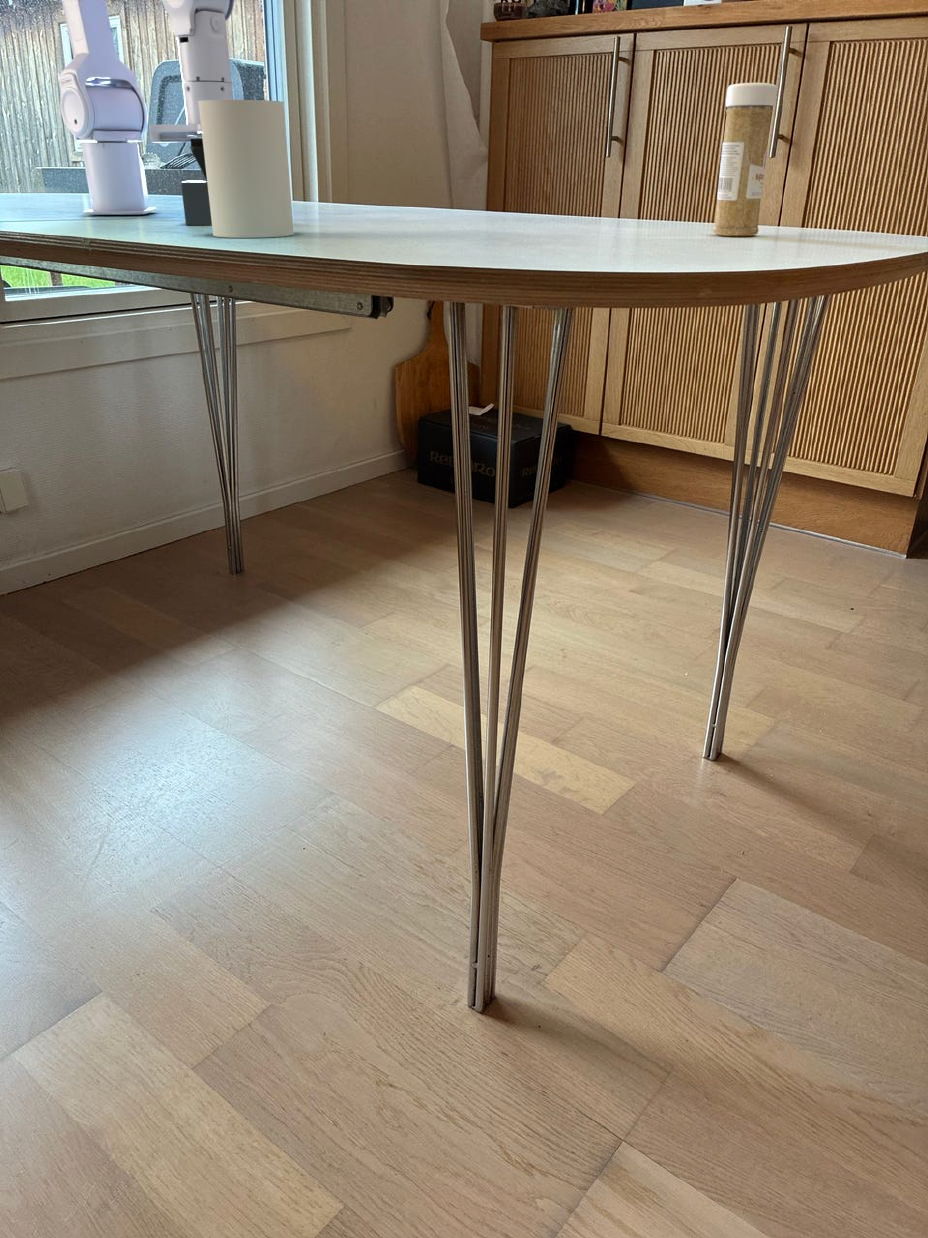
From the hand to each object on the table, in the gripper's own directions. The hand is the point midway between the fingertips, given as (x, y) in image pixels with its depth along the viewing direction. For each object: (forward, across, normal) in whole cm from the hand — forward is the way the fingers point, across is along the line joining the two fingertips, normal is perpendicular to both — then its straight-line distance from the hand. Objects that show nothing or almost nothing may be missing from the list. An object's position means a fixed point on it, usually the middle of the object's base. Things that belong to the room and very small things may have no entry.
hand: (220, 207), depth 118 cm
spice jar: (+2, +56, -31) cm, 63 cm away
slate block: (+1, 0, -8) cm, 8 cm away
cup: (+2, +6, -25) cm, 26 cm away
